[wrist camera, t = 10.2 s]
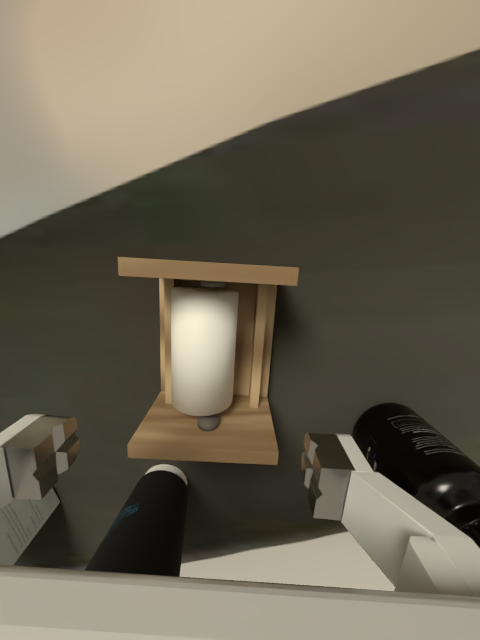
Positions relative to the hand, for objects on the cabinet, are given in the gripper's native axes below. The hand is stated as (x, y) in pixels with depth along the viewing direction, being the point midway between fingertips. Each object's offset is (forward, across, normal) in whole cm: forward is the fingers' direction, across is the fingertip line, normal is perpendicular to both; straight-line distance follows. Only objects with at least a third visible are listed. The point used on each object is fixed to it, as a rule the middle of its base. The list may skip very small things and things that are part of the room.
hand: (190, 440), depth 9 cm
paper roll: (+11, +1, 0) cm, 11 cm away
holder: (+14, +1, 0) cm, 14 cm away
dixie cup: (+14, +6, +17) cm, 23 cm away
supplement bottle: (+15, -17, +10) cm, 24 cm away
